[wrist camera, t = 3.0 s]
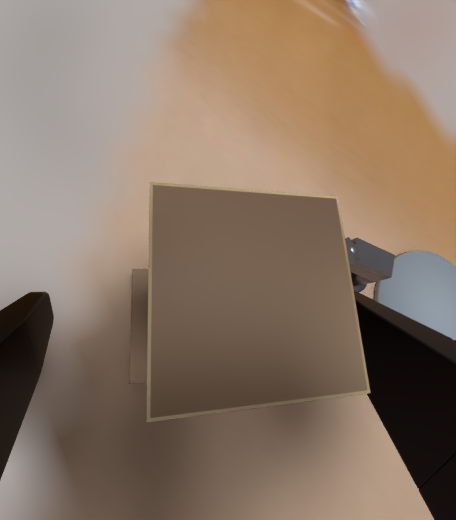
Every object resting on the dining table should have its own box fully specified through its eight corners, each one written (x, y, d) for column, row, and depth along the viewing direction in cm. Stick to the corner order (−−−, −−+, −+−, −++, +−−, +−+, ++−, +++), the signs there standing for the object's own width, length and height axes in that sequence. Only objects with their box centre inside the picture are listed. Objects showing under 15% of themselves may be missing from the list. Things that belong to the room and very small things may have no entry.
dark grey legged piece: (362, 320, 19) (410, 317, 15) (251, 298, 17) (276, 289, 14) (363, 261, 20) (407, 245, 17) (258, 235, 19) (283, 212, 15)
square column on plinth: (235, 370, 16) (427, 447, 5) (131, 380, 15) (63, 519, 3) (229, 273, 17) (368, 160, 6) (134, 273, 16) (92, 127, 5)
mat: (483, 387, 20) (491, 388, 20) (374, 370, 18) (380, 371, 18) (470, 266, 23) (477, 264, 22) (373, 240, 21) (378, 238, 20)
